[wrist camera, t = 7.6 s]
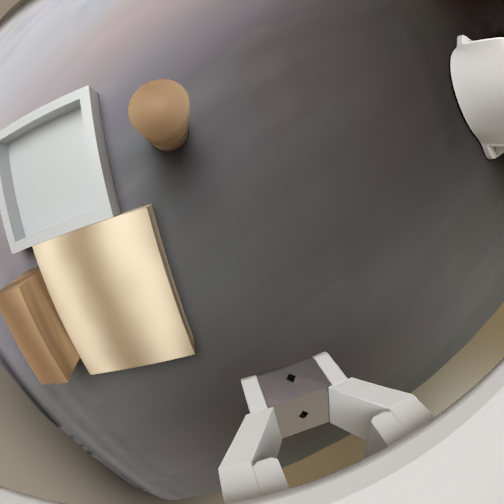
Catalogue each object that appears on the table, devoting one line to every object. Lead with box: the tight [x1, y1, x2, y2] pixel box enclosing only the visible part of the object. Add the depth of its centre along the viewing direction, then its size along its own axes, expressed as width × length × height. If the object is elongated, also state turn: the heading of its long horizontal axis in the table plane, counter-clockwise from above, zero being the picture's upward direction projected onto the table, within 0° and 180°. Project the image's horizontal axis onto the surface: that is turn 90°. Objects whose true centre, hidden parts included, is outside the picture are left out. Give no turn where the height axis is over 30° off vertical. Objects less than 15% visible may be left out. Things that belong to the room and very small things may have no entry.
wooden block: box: [0, 266, 80, 385], centre depth 17 cm, size 3×8×6 cm, turn 12°
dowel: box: [128, 79, 190, 151], centre depth 15 cm, size 3×3×8 cm
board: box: [32, 204, 195, 375], centre depth 20 cm, size 10×12×3 cm
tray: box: [0, 85, 121, 254], centre depth 16 cm, size 10×10×2 cm
